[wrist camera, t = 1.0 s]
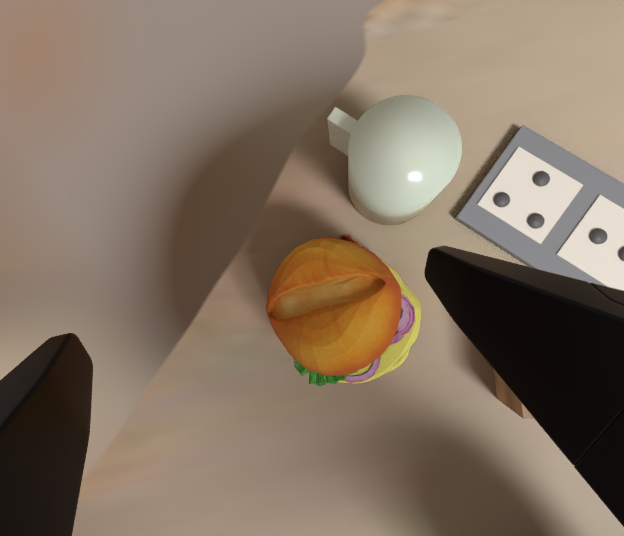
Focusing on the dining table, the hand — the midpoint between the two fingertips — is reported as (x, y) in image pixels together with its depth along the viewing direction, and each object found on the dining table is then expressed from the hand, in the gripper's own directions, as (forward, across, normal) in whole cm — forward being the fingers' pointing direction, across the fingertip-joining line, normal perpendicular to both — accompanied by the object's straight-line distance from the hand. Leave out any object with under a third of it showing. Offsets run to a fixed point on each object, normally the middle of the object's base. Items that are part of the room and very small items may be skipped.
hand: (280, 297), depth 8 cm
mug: (+17, -13, +4) cm, 22 cm away
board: (+6, -27, +8) cm, 29 cm away
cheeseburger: (+12, -8, +13) cm, 20 cm away
